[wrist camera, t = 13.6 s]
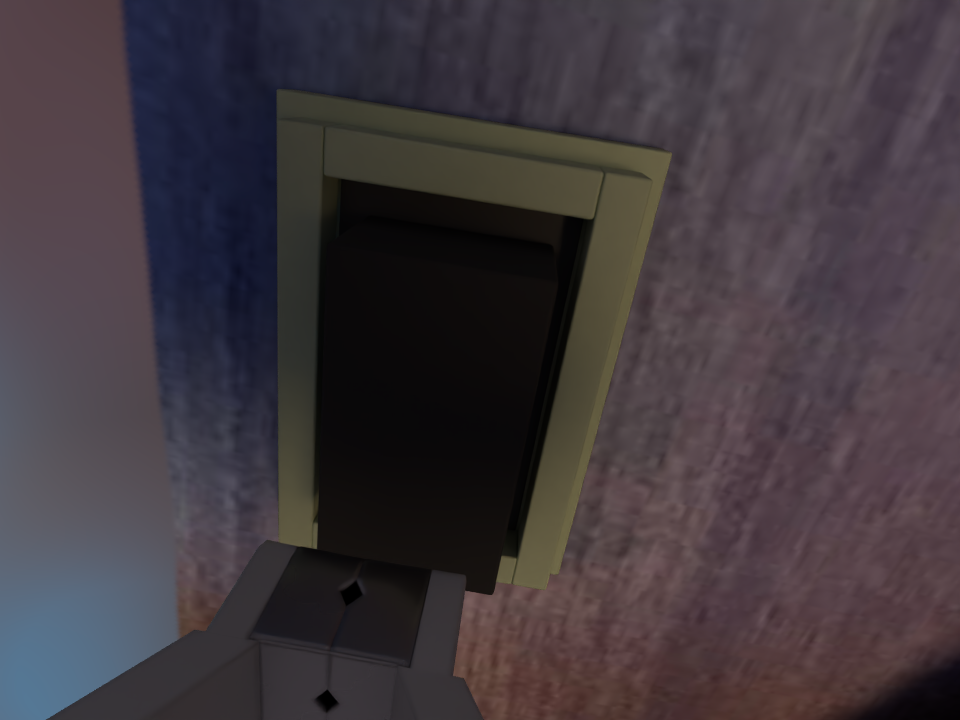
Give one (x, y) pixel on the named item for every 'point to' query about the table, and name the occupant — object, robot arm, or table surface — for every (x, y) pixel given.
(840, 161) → the table surface
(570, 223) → the pad
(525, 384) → the black pad
